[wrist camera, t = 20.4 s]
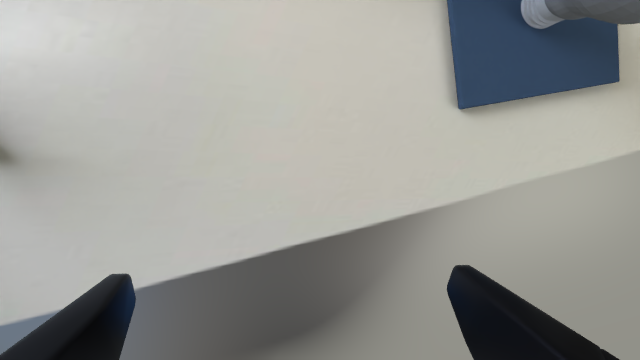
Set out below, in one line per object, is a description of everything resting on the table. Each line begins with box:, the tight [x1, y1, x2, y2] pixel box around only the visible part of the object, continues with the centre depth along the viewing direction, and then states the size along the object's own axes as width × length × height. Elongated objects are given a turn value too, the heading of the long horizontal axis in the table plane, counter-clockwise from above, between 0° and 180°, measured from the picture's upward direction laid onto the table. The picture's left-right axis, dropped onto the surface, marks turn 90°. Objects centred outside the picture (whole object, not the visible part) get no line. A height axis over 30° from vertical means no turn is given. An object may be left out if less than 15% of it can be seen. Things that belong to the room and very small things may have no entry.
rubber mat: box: [447, 0, 619, 109], centre depth 21 cm, size 11×11×1 cm
